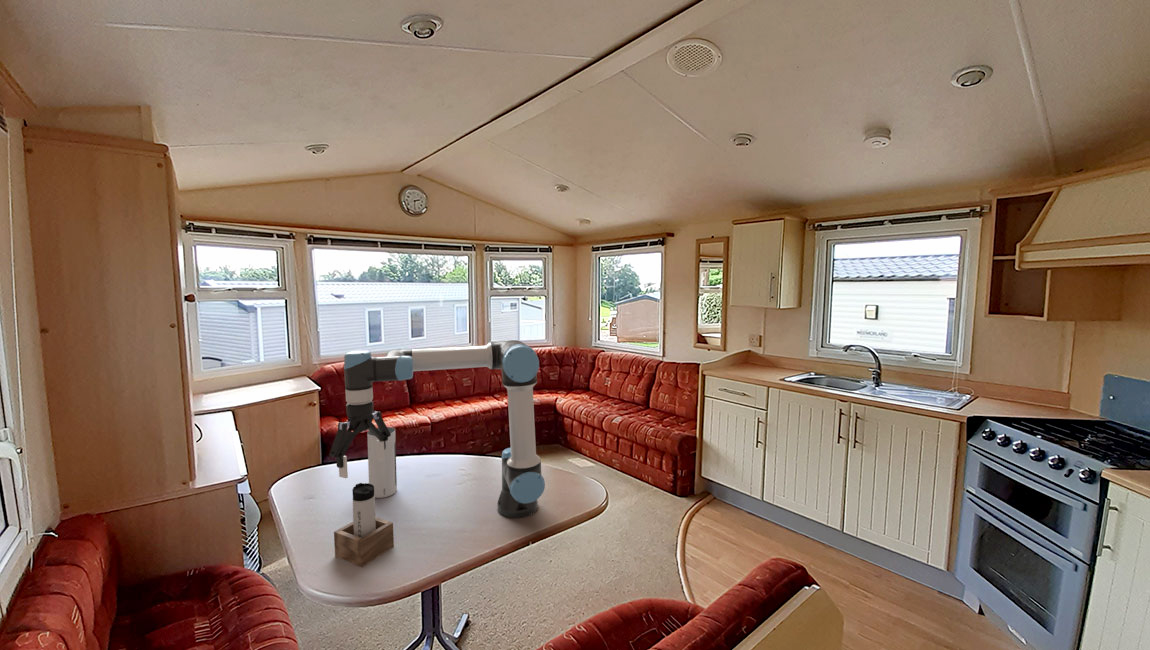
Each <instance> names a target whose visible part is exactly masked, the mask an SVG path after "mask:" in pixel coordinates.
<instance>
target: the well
mask: <svg viewBox="0 0 1150 650" xmlns="http://www.w3.org/2000/svg"><path fill="white" fill-rule="evenodd" d="M375 523H376V530H375V531H373V532H371V533H370V534H368V535H366V536H364V537H363V538H360V537H358V536H355V535H354V524H353V521H351V522H349V523H348V524H346V525H344V526H342V527H340V528H339V529H337V530H335V531H333V537H334V538H333V539H334V540H333V541H334V543H333V544H334V557H336V558H338V559H340V560H343V561H345V562H348V563H351V564H353V565H356V566H358V567H361V568H363V567H364V566H366V565H368V564H369V563H371V562H372V561H374V560H375V559H377V558H379V557H380V556H382V555H383V554H384V553H386V552H387V551H389V550H390V549H392V548H393V547H395V542H394V541H395V540H394V539H395V537H394V536H395V535H394V522H392V521H389V520H387V519H383V518H380V517H377V516H375Z"/></svg>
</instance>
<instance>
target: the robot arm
mask: <svg viewBox="0 0 1150 650" xmlns="http://www.w3.org/2000/svg"><path fill="white" fill-rule="evenodd" d="M343 360H344V361H343V362H344V363H343V365H344V366H343V373H344V386H345V387H344V388H345V389H344V390H345V402H347V403H346V405H345V408H346V409H345V410H346V411H345V412H346V416H347V421H345V422H341V421H340V422H338V423H337V431H336V434H335V437H334V440H333V442H332V445H331V448H330V450H329V452H328V453H329V454H328V455H329V456H330V457H331V458H336V459H335V460H336V467H337V468H338V475H339V476H338V477H339V478H343V479H348V477H349V476H348V475H349V473H348V458H347V455H346V454H347V451H348V449H349V447H350V446H351V444H352V442H353V441H354V439H355V437H357V435H358V434H360V433H363V432H365V431H370V432H371V433H372V434H374V435H375V436H376V437H377V438H378V439H379V440H377V441H376V450H377V460H378V461H382V462H383V461H385V453H384V450H385V449H386V443H385V441H387V440H388V437H390V436H391V434H390V432H389V430H388V428H387V427H388V426H387V424H386V422H385V421H384V419H383V415H382V412H381V411H376V410H374V401H373V400H374V391H373V383H374V382H390V381H391V382H393V381H396V382H397V381H400V382H401V381H402V382H403V381H406V380H411V379H413V376H414V372H421V371H423V372H424V371H438V370H442V371H443V370H454V369H455V370H456V369H457V370H458V369H469V368H470V369H473V368H484V367H485V368H488V369H490V370H501V379H502V380H501V381H502V383H501V384H502V386H503V387H504V388H506V391H507V406H508V407H507V408H508V409H507V410H508V423H509V424H508V426H509V440H510V441H509V442H510V447H507V448H505V449H504V450H502V453H501V491H500V494H499V497H498V500H497V505H496V506H497V512H498V513H499V515H501V516H504V517H507V518H514V519H515V518H517V519H519V518H524V516H525V517H528V516H530V515H529V514H531V513H532V514H534V513H535V512H536V511H537V510H538V508H537V506H538V505H539V504H538V503H539V502H538V499H539V498H540V497H541V496H542V495H543V494H544V492H545V487H546V482H545V478H544V476H543V474H542V459H541V457H540V455H538V454H537V446H536V445H537V444H536V427H535V426H536V425H535V408H534V407H535V405H534V387H535V386H536V384H537V383H538V375H537V373H538V371H539V369H540V359H539V356H538V354H537V353H536V351H535V350H534V349H533V347H531V346H530V345H527V344H526V343H524V342H522V341H520V340H516V339H515V340H514V339H513V340H512V339H511V340H504V341H493V342H491V341H490V342H488V343H487V344H486V345H474V346H473V345H471V346H454V347H435V348H434V347H433V348H416V349H415V348H414V349H412V348H411V349H401V348H392V350H389V351H388V352H387V353H386V354H385V355H384V356H378V357H376V356H372V354H371V351H369V350H353V351H348V352H347V353H345V354H344V358H343ZM373 421H374V422H375V424H376V425H375V424H374V423H373ZM376 426H377V427H376ZM377 428H379V430H380V431H381V432H380V431H379V430H378V429H377ZM536 509H537V510H536ZM535 510H536V511H535ZM534 511H535V512H534ZM533 512H534V513H533ZM532 514H531V515H532ZM527 515H528V516H527Z"/></svg>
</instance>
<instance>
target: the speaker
mask: <svg viewBox="0 0 1150 650" xmlns="http://www.w3.org/2000/svg"><path fill="white" fill-rule="evenodd" d="M376 428H377V429H378V430H379V428H378V427H376ZM387 428H388V430H389V432H390V434H391V436H390V437H388V440H387V441H385V443H386V449H385V450H384V453H385V461H383V462H382V461H378V460H377V450H376V441H377V440H379V439H378V438H377V437H376V436H375V435H374V434H372V433H371V432H370V431H369V430H367V434H366V435H367V460H368V461H367V463H368V464H367V465H368V483H369V484H372V485H373V486H374V494H375V499H383V498H388V497H391V496H393V495H395V494H396V493H397V491H398V485H397V483H398V482H397V451H396V450H397V448H396V447H397V446H396V445H397V444H396V443H397V442H396V429H395V428H394V427H392V426H391V427H390V426H387ZM379 431H380V430H379ZM380 432H381V431H380Z"/></svg>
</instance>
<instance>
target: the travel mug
mask: <svg viewBox="0 0 1150 650" xmlns="http://www.w3.org/2000/svg"><path fill="white" fill-rule="evenodd" d="M351 491H352V522H353V524H354V535H355V536H358V537H360V538H363V537H364V536H366V535H368V534H370V533H371V532H373V531H375V530H376V523H375V517H376V501H375V500H376V498H375V494H374V486H373V485H372V484H369V482H368V483H367V482H366V483H362V482H359V483H357V484H355V485H354V486H353V488H352V490H351Z"/></svg>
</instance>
